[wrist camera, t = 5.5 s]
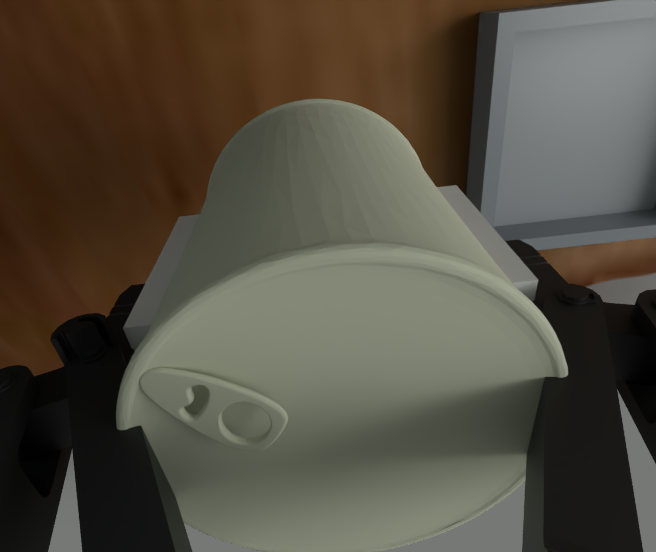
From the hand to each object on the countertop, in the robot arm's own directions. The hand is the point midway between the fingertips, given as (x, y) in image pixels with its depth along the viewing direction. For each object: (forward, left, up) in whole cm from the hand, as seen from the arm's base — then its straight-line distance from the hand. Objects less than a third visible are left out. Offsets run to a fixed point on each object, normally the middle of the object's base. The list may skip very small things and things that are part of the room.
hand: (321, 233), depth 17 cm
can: (0, 0, -2) cm, 2 cm away
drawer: (+19, -1, -15) cm, 24 cm away
